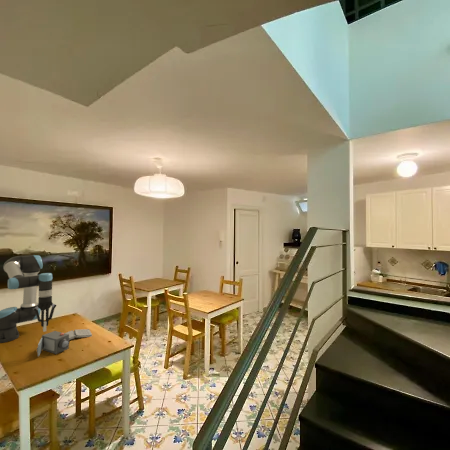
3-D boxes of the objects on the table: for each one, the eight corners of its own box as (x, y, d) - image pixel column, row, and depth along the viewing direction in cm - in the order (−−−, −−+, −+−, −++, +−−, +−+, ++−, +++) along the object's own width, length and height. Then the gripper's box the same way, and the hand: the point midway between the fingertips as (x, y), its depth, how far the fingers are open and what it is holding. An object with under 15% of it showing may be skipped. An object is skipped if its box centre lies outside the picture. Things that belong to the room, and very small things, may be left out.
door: (40, 348, 175) (40, 337, 175) (42, 347, 176) (43, 337, 176) (36, 356, 163) (36, 345, 164) (39, 356, 164) (39, 344, 164)
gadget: (58, 344, 186) (58, 339, 186) (56, 337, 198) (57, 333, 198) (92, 336, 199) (92, 332, 200) (89, 330, 211) (89, 326, 212)
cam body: (41, 349, 176) (41, 334, 176) (54, 344, 184) (55, 329, 185) (58, 355, 168) (58, 338, 169) (71, 349, 177) (71, 333, 177)
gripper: (34, 298, 163) (33, 335, 162) (57, 295, 172) (57, 329, 171) (32, 296, 168) (31, 332, 167) (55, 293, 177) (54, 326, 176)
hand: (44, 330), depth 169 cm, fingers closed
